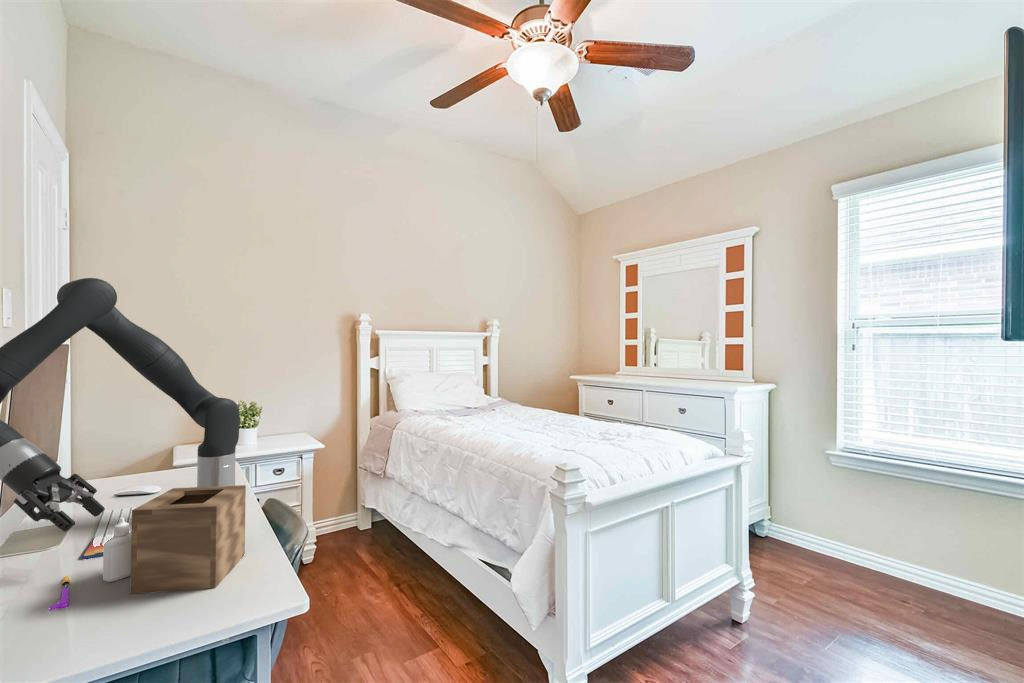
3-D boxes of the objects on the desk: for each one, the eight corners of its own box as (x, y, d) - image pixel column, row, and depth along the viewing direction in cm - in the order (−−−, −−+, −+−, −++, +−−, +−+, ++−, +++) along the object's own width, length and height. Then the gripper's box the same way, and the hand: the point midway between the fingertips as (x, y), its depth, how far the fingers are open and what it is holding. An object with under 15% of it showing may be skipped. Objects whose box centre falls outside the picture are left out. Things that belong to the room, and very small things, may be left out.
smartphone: (132, 534, 123) (132, 530, 123) (122, 554, 110) (122, 549, 110) (94, 540, 119) (94, 535, 119) (80, 561, 106) (80, 557, 106)
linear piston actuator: (69, 608, 87) (71, 577, 99) (67, 602, 87) (69, 572, 99) (49, 616, 85) (53, 584, 97) (47, 610, 85) (51, 579, 97)
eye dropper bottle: (138, 576, 99) (139, 518, 99) (102, 584, 95) (103, 524, 96) (137, 568, 102) (138, 512, 103) (103, 576, 99) (104, 518, 99)
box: (172, 560, 106) (173, 488, 107) (244, 555, 109) (245, 485, 109) (130, 594, 92) (131, 510, 92) (215, 587, 94) (216, 506, 94)
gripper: (8, 460, 90) (75, 518, 92) (65, 445, 104) (123, 496, 106) (-26, 490, 89) (43, 548, 91) (36, 471, 103) (95, 521, 105)
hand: (86, 520), depth 98 cm, fingers open, 8 cm apart
